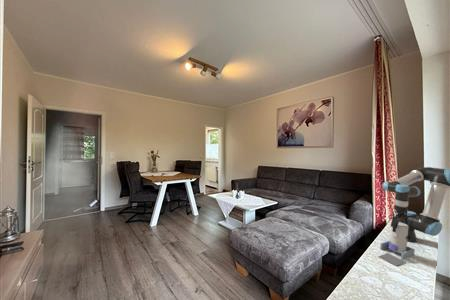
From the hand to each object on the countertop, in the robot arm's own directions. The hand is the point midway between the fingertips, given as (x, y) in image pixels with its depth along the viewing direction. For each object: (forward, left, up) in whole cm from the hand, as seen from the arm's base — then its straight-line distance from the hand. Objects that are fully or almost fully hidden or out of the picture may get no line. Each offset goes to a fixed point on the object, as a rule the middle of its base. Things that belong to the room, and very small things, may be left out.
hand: (398, 234), depth 148 cm
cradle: (0, 0, -14) cm, 14 cm away
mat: (+14, +4, -14) cm, 20 cm away
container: (0, 0, -12) cm, 12 cm away
